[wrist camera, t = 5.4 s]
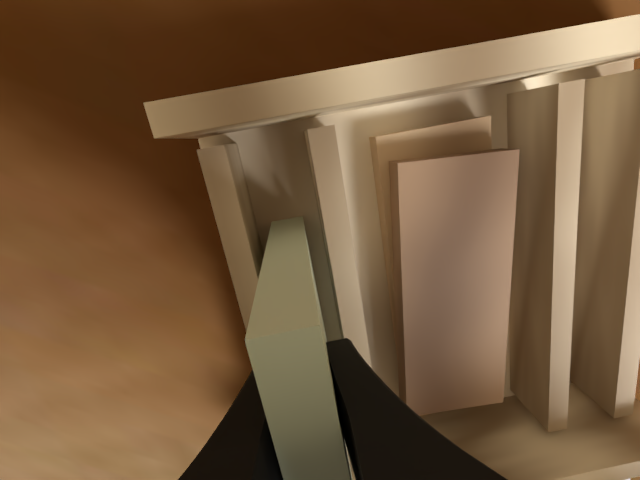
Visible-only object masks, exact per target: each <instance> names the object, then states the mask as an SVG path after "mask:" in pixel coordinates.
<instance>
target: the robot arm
mask: <svg viewBox="0 0 640 480" xmlns="http://www.w3.org/2000/svg"><path fill="white" fill-rule="evenodd" d="M326 346H327V353H328V358H329V364H330V369H331V374H332V379H333V384H334V389H335V394H336V399H337V404H338V409H339V414H340V419H341V424H342V429H343V435H344V439H345V443H346V447H347V450H348V454H349V457H350V461H351V465H352V468H353V472H354V475H355V479H356V480H508V479H506V478H505V477H503V476H502V475H500V474H499V473H497V472H496V471H494V470H493V469H491V468H490V467H488V466H487V465H485V464H484V463H482V462H480V461H479V460H477V459H476V458H474V457H473V456H471V455H470V454H468V453H467V452H465V451H464V450H462V449H461V448H460V447H458V446H457V445H456V444H454V443H453V442H452V441H450V440H449V439H448V438H446V437H445V436H444V435H442V434H441V433H440V432H438V431H437V430H436V429H435V428H433V427H432V426H431V425H430V424H428V423H427V422H426V421H425V420H424V419H422V418H421V417H420V416H419V415H418V414H417V413H415V412H414V411H413V410H412V409H411V408H410V407H409V406H408V405H407V404H405V403H404V402H403V401H402V400H401V399H400V398H399V397H398V396H397V395H396V394H395V393H394V392H393V391H392V390H391V389H390V388H389V387H388V386H387V385H386V384H385V383H384V382H383V381H382V380H381V378H380V377H379V376H378V375H377V374H376V373H375V372H374V371H373V370H372V369H371V367H370V366H369V365H368V364H367V363H366V361H365V360H364V359H363V358H362V356H361V355H360V354H359V352H358V351H357V349H356V348H355V346H354V345H353V343H352V341H351V340H349V339H348V338H344V339H339V340H334V341H329V342H326ZM178 480H283V476H282V473H281V469H280V466H279V462H278V458H277V455H276V451H275V448H274V444H273V440H272V437H271V433H270V430H269V426H268V422H267V419H266V415H265V412H264V408H263V405H262V401H261V397H260V394H259V390H258V387H257V383H256V379H255V376H254V372H253V370H252V372H251V373H250V375H249V377H248V379H247V381H246V382H245V384H244V386H243V387H242V389H241V391H240V393H239V394H238V396H237V397H236V399H235V401H234V402H233V404H232V405H231V407H230V409H229V410H228V412H227V413H226V415H225V417H224V418H223V420H222V421H221V422H220V424H219V425H218V427H217V428H216V430H215V431H214V433H213V434H212V436H211V437H210V438H209V440H208V441H207V443H206V444H205V446H204V447H203V448H202V450H201V451H200V452H199V454H198V455H197V456H196V458H195V459H194V460H193V462H192V463H191V464H190V466H189V467H188V468H187V469H186V471H185V472H184V473H183V474H182V476H181V477H180V478H179V479H178ZM625 480H630V479H625Z"/></svg>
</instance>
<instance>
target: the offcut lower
mask: <svg viewBox="0 0 640 480" xmlns="http://www.w3.org/2000/svg"><path fill="white" fill-rule="evenodd" d="M369 140H370V148H371V156H372V164H373V172H374V180H375V188H376V195H377V203H378V211H379V219H380V227H381V235H382V243H383V251H384V259H385V267H386V274H387V282H388V290H389V298H390V306H391V314H392V322H393V330H394V338H395V345H396V353H397V334H396V311H395V288H394V266H393V243H392V220H391V198H390V175H389V161H395V160H404V159H412V158H421V157H430V156H439V155H447V154H456V153H465V152H474V151H483V150H491V149H492V140H491V116H483V117H475V118H470V119H464V120H459V121H453V122H448V123H442V124H437V125H432V126H426V127H421V128H415V129H410V130H405V131H399V132H394V133H388V134H383V135H378V136H372V137H369ZM397 361H398V356H397ZM435 413H437V412H435ZM429 414H432V413H429ZM422 415H427V414H422ZM422 415H419V416H422Z"/></svg>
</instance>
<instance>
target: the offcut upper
mask: <svg viewBox="0 0 640 480" xmlns="http://www.w3.org/2000/svg"><path fill="white" fill-rule="evenodd" d="M519 151H520V149H504V148H500V149H491V150H483V151H474V152H465V153H456V154H447V155H439V156H430V157H421V158H412V159H404V160H395V161H389V175H390V198H391V220H392V243H393V266H394V288H395V311H396V334H397V356H398V379H399V398H400V399H401V400H402V401H403V402H404V403H405V404H407V405H408V406H409V407H410V408H411V409H412V410H413V411H414V412H415V413H417V414H418V415H422V414H429V413H435V412H442V411H449V410H455V409H462V408H468V407H475V406H482V405H488V404H495V403H501V402H503V399H504V383H505V368H506V352H507V337H508V321H509V306H510V291H511V275H512V260H513V244H514V229H515V213H516V198H517V182H518V167H519Z"/></svg>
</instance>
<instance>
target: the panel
mask: <svg viewBox="0 0 640 480" xmlns="http://www.w3.org/2000/svg"><path fill="white" fill-rule="evenodd" d="M326 342H327V338H326V333H325V328H324V323H323V318H322V313H321V308H320V302H319V297H318V292H317V287H316V282H315V277H314V272H313V267H312V261H311V256H310V251H309V246H308V241H307V236H306V231H305V226H304V220H303V216H299V217H294V218H289V219H283V220H278V221H273V222H271V227H270V231H269V235H268V240H267V244H266V249H265V253H264V257H263V262H262V266H261V271H260V275H259V279H258V284H257V288H256V292H255V297H254V301H253V306H252V310H251V314H250V319H249V323H248V327H247V332H246V336H245V343H246V347H247V351H248V354H249V358H250V361H251V365H252V369H253V372H254V376H255V379H256V383H257V387H258V390H259V394H260V397H261V401H262V405H263V408H264V412H265V415H266V419H267V422H268V426H269V430H270V433H271V437H272V440H273V444H274V448H275V451H276V455H277V458H278V462H279V466H280V469H281V473H282V476H283V480H353V479H352V473H351V468H350V462H349V457H348V451H347V447H346V443H345V439H344V435H343V429H342V424H341V419H340V414H339V409H338V404H337V399H336V394H335V389H334V384H333V379H332V374H331V369H330V364H329V358H328V353H327V346H326Z"/></svg>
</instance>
